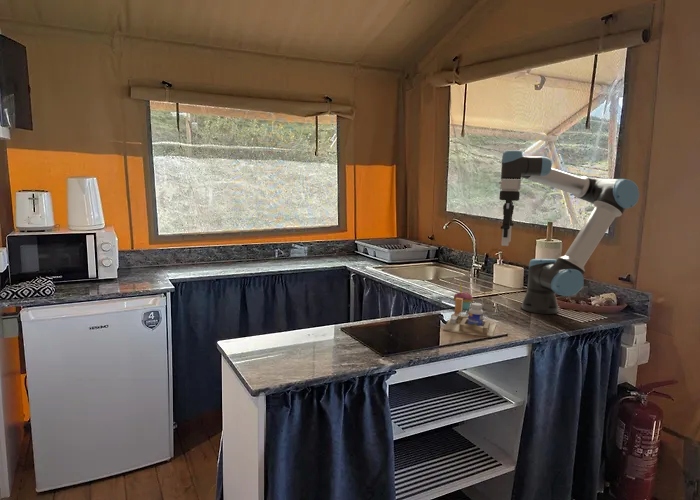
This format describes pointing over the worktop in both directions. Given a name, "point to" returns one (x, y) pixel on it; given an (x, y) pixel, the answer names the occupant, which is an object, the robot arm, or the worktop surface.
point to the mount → (470, 327)
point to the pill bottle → (475, 314)
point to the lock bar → (457, 310)
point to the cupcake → (464, 298)
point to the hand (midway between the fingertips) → (505, 243)
